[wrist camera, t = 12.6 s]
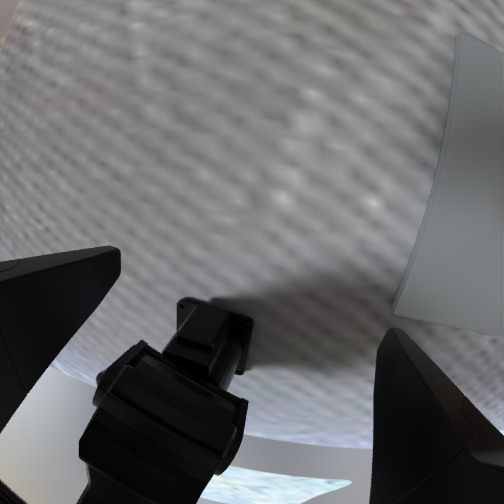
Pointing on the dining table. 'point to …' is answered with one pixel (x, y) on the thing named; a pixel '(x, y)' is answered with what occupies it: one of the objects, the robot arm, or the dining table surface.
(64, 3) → the dining table surface
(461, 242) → the slate board
